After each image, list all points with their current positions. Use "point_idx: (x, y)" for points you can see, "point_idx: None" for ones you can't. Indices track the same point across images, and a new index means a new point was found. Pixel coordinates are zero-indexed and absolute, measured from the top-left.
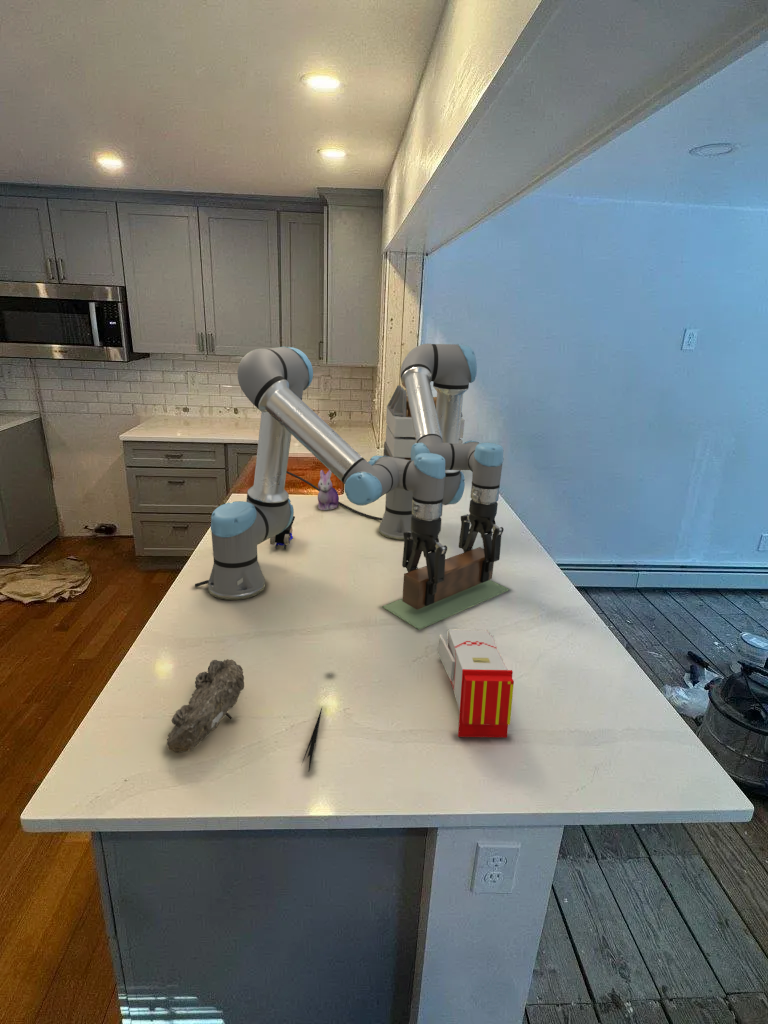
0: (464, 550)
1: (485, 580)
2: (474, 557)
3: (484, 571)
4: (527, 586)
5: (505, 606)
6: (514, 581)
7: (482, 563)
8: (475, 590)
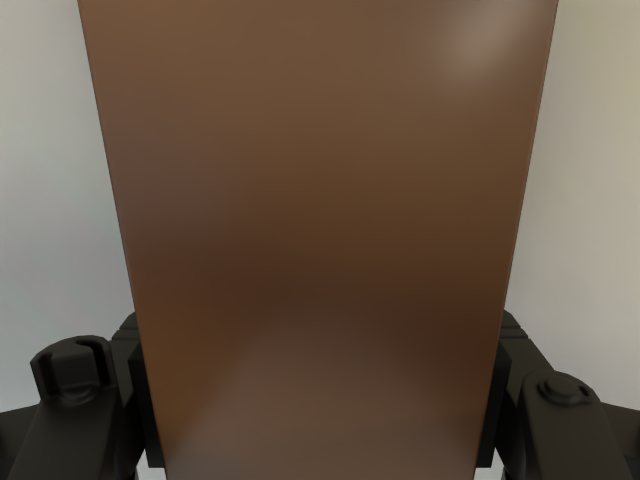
0: (556, 386)
1: None
2: (234, 299)
3: None
4: (153, 473)
5: (8, 197)
6: None
7: None
8: None
